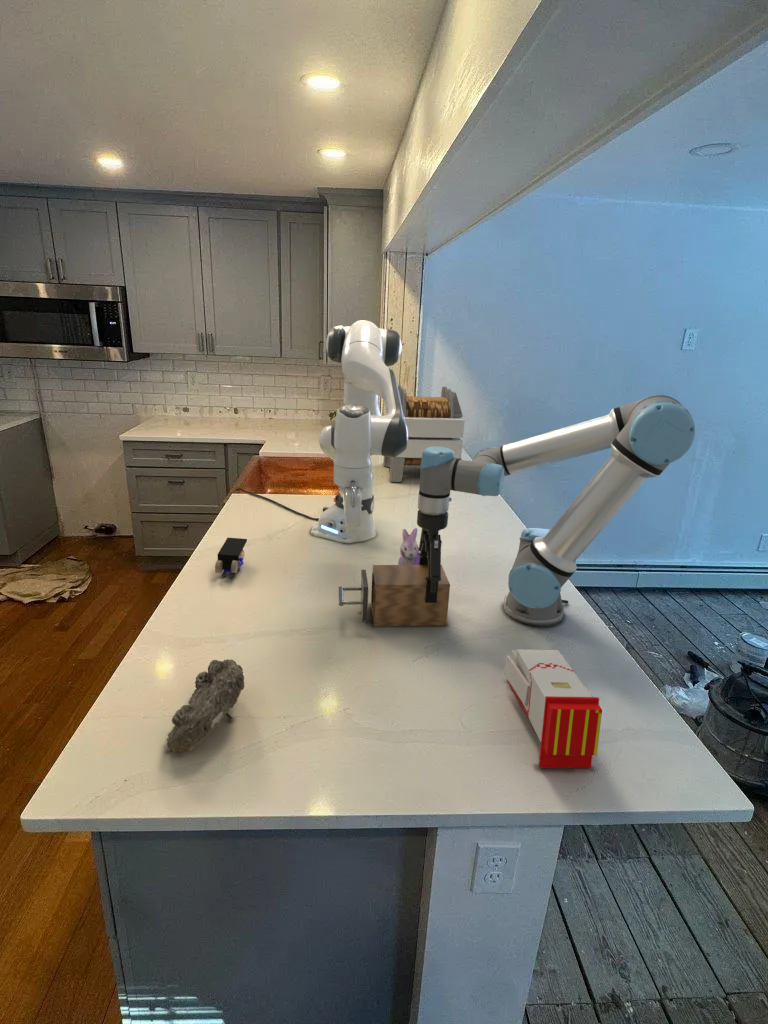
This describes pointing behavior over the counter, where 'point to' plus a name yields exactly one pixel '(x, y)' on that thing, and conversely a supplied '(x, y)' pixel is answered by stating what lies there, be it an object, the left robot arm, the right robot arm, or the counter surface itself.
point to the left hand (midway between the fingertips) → (350, 530)
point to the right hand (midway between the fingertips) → (427, 590)
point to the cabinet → (408, 596)
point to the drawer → (364, 595)
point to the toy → (556, 707)
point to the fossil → (206, 705)
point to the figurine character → (230, 556)
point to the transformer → (428, 428)
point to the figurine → (409, 549)
